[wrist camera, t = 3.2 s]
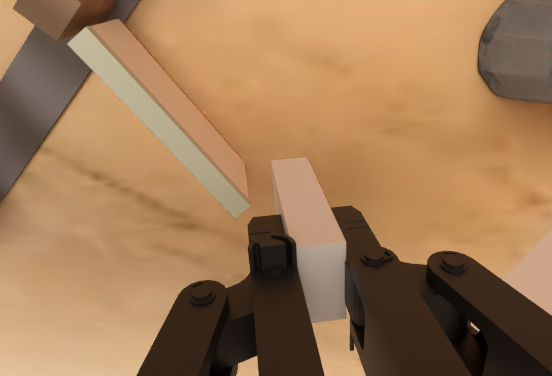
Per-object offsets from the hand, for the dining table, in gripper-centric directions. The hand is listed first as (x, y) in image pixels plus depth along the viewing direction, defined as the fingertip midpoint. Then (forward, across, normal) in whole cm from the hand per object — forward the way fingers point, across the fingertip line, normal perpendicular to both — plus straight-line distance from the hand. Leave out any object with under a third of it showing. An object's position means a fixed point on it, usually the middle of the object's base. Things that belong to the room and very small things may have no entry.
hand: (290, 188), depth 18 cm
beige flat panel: (+16, -6, 0) cm, 18 cm away
